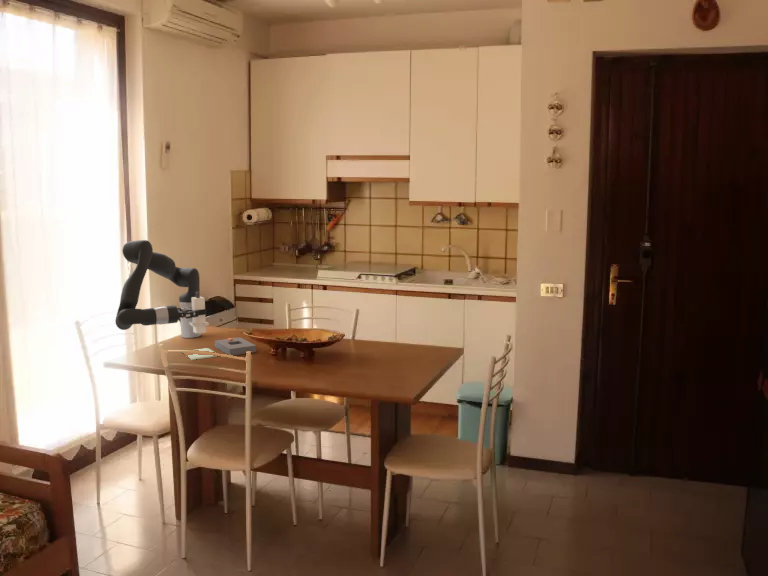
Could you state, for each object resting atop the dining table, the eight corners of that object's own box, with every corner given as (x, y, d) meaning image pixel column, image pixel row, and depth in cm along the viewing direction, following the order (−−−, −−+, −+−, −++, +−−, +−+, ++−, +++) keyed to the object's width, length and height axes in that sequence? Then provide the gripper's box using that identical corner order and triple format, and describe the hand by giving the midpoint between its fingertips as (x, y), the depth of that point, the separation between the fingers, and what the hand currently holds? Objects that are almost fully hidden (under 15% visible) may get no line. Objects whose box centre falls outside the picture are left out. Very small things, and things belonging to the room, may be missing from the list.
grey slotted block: (215, 347, 352) (214, 338, 351) (240, 343, 358) (240, 335, 357) (229, 355, 335) (229, 347, 334) (256, 352, 341) (255, 343, 340)
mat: (181, 352, 342) (181, 351, 342) (207, 349, 348) (207, 347, 348) (192, 360, 328) (191, 358, 328) (219, 356, 334) (219, 354, 334)
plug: (189, 331, 338) (187, 291, 335) (204, 329, 341) (202, 290, 339) (194, 334, 332) (192, 293, 330) (209, 332, 336) (207, 292, 333)
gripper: (169, 308, 322) (209, 304, 330) (160, 303, 334) (199, 300, 342) (170, 326, 323) (210, 321, 331) (161, 321, 335) (200, 316, 343)
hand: (204, 310), depth 337 cm, fingers closed on plug, 4 cm apart
